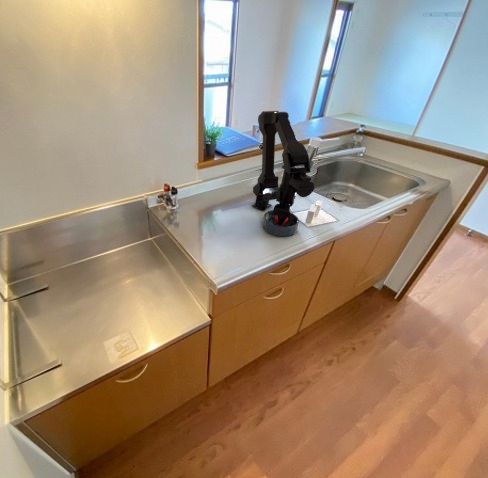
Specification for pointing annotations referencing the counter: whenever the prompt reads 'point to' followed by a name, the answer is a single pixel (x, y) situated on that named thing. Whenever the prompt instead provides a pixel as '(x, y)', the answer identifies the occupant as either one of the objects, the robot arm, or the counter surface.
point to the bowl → (278, 230)
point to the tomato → (277, 220)
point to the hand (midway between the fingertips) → (280, 221)
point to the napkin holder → (314, 215)
